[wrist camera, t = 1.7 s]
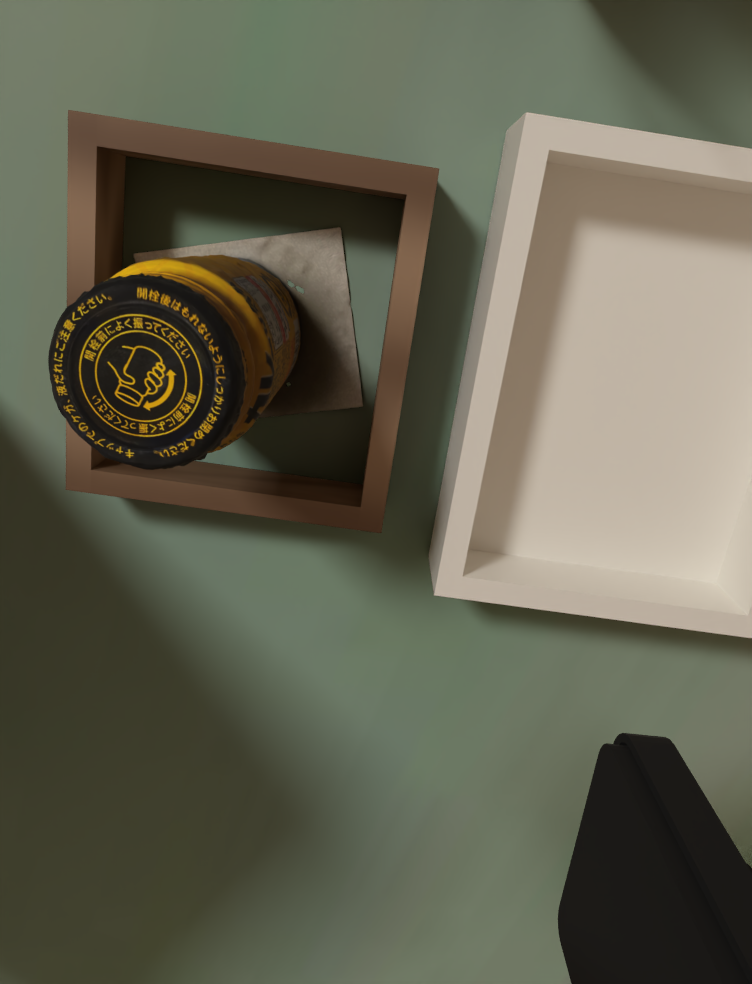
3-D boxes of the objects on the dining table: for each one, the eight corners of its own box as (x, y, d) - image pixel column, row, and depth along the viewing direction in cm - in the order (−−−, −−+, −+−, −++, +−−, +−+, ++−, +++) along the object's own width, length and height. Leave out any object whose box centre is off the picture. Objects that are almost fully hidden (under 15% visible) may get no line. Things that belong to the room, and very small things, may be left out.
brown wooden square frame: (100, 123, 28) (68, 109, 25) (433, 176, 28) (439, 168, 25) (93, 468, 32) (65, 489, 29) (381, 508, 33) (381, 533, 30)
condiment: (134, 253, 29) (-22, 259, 18) (340, 227, 29) (314, 215, 18) (172, 427, 32) (55, 528, 20) (363, 404, 31) (352, 495, 20)
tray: (506, 130, 28) (526, 112, 24) (857, 186, 28) (931, 178, 24) (428, 555, 33) (434, 595, 30) (721, 595, 34) (763, 639, 30)
